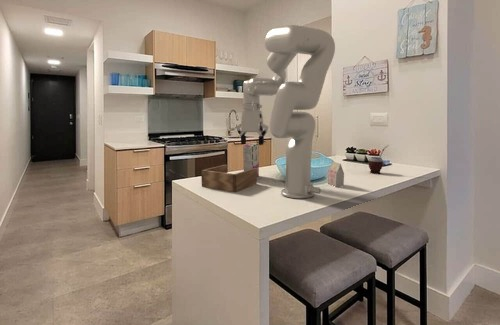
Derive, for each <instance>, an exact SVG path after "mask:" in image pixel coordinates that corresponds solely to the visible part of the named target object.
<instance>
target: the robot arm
mask: <svg viewBox="0 0 500 325" xmlns="http://www.w3.org/2000/svg"><path fill="white" fill-rule="evenodd" d="M335 44H336V43H335V40H334V37H333V36H332V35H331V34H330V33H329V32H327V31H325V30H324V29H319V28H314V27H308V26H304V25H303V26H302V25H296V24H289V25H284V26H283V25H282V26H276V27H272V28H271V29H270V30H269V31H268V32H267V34H266V36H265V39H264V47H265V49H266V50H267V52H269V53H270V54H269V55H268V57H267V59H266V64H267V66H268V68H269V69H270V71H272V72H273V73H275V74H274V75H273V77H272V78H268V77H252V78H250V79H247V80H245V81H243V83H242V89H243V90H242V95H243V96H242V97H243V99H242V100H243V110H242V113H241V118H240V119H241V121H240V122H241V123H240V124H238V125H236V127H235V129H236V131H237V133H238V135H239V136H240V144H241V145H246V144H247V136H246V134H247V133H257V134H258V143H259V146H263V145H264V143H265V138H264V137H265V136H266V134H267V133H268V130H269V131H270V134H271V135H272V136H273V137H274V138H277V139H289V140H288V143H287V145H286V149H285V150H286V151H285V184H284V186H285V188H283V189H282V190H281V191H280V194H281V195H282V196H284V197H286V198H291V199H308V198H312V197H314V196H315V194H320V193H321V188H320V187H319V186H318V187H317V186H314V183H313V182H311V178H312V177H311V176H312V175H311V174H312V173H311V172H312V150H313V149H312V148H313V139H314V134H315V130H316V119H315V118H314V116H313V115H312V114H311V113H310V112H307V110H308V111H309V110H314V109H315V107H317V105H318V104H319V101H320V97H321V95H322V91H323V87H324V84H325V80H326V76H327V73H328V71H329V68H330V66H331V64H332V61H333V59H334V56H335V53H336V45H335ZM297 54H302V55H309V56H311V57H310V58H308V59H307V61H306V62H305V63H304V65H303V66H302V69H301V72H300V76H299V79H298V81H286V78H287V75H286V74H287V72H286V69H287V68H288V66H289V65H290V63H292V61H294V58H295V57H296V56H297ZM261 96H265V97H266V96H269V97H270V96H271V97H272V96H274V100H273V101H274V102H273V105H272V106H273V107H272V110H271V114H270V120H269V126H268V124H265V123H264V117H263V112H262V110H261V109H262V108H263V105H262V104H261V103H260V97H261ZM294 110H295V111H294ZM302 110H303V111H302Z"/></svg>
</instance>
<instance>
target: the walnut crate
mask: <svg viewBox="0 0 500 325" xmlns="http://www.w3.org/2000/svg"><path fill="white" fill-rule="evenodd" d="M200 171H201V172H200V173H201V174H200V175H201V187H202V188H209V189H215V190H221V191H226V192H230V193H231V192H233V193H237V192H240V191H242V190H245V189H247V188H250V187H253V186H256V185H257V182H258V181H257V180H258V179H257V178H258V177H257V168H253V169H250V170H246V171H244V170H243V171H240V172H237V173H229V172H228V165H227V164H222V165H217V166H214V167H210V168H205V169H202V170H200Z"/></svg>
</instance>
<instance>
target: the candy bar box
mask: <svg viewBox="0 0 500 325" xmlns="http://www.w3.org/2000/svg"><path fill="white" fill-rule="evenodd" d="M259 146H260V145H259V142H249V143H246V144H243V149H242V150H243V151H242V154H243V171H246V170H250V169H253V168H257V178H258V177H259V176H260V172H259V171H260V168H259V166H260V165H259V163H260V162H259V161H260V160H259V155H260V154H259V153H260V152H259V148H260V147H259Z"/></svg>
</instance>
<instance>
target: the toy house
mask: <svg viewBox="0 0 500 325" xmlns="http://www.w3.org/2000/svg"><path fill="white" fill-rule="evenodd" d="M330 164H331V165H330V167H329V168H328V171H327V174H328V175H327V184H328V185H330V186H332V185H333V186H332V187H334V186H335V187H334V188H341V187H340V186H343V187H344V183H345V172H344V169H343V166H342V164H341V163H339V162H336V161H331V163H330Z"/></svg>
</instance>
